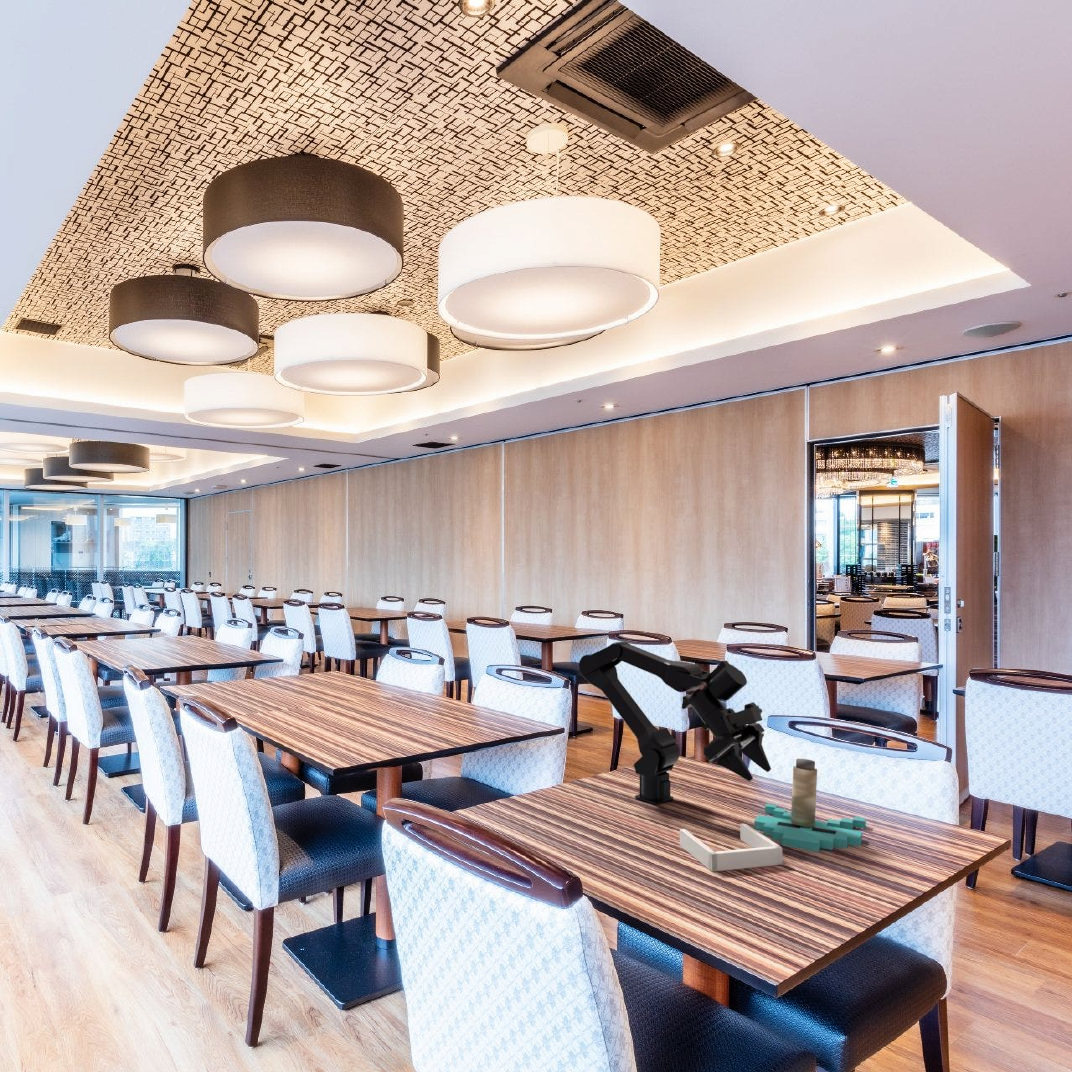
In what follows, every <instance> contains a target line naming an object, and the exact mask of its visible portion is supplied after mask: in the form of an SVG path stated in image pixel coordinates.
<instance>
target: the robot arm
mask: <svg viewBox="0 0 1072 1072" xmlns="http://www.w3.org/2000/svg"><path fill="white" fill-rule="evenodd" d="M622 662H624V663H626V664H628V665H631V666H633V667H634V668H637V669H639V670H642V671H644V672H647V673H650V674H651V675H655V676H656V677H657V678H660V679H661V681H662V682H663V683H664V684H665V685H666V686H668V687H669V688H670V689H673V690H674V691H676V692H678V693H684V692H689V691H693V690H694V691H693V692H692V693H691V694H690V695H688V694H687V695H684V696H682V702H681V709H682V710H686V709H689V708H693V710H694V712H695V713H696V714H697V715H698V717H699V718H700V719H701V721H702V723H704V725H702V728H703V729H704V731H708V730H709V732H710V733H711V734H712V735H713V737H714V739H712V740H711V741H710V742H709V743H707V744H706V745H705V746H704V747H703V756H704V757H705V758H706V760H708V762H711V761H713V763H714V764H717V765H718V766H721V767H723V768H725V769H727V770H729V771H731V772H732V773H734V774H736V775H737V776H739V777H741V778H743V779H744V780H745V781H747V782H750V781H752V780H753V779H754V776H753V775H752V773H751V771H750V770H749V767H748V766H747V765H746V763H745V762H744V760H743V758H742V757H741V754H739V752H741V753H742V754H743V755H744V756H745V757H747V758H748V759H749V760H751V761H752V762H753V763H755V764H756V765H757V766H758V767H759V768H761V769H762V770H764V771H765V772H766V773H768V772H770V771H771V770H772V768H771V765H770V763H769V760H768V757H767V755H766V753H765V750H764V747H763V738H764V736H765V731H766V730H765V729H764V728H763V726H762V725H761V724H760V723H758V722H760V721H763V717H762V715H761V714H762V713H763V709H762V708H760V706H759V705H758V704H756V703H755V702H754V701H753V702H750V703H747V704H744V707H743V710H739V711H735V710H734V709H733V708H731V707H728V708H726V706H725V705H724V703H723V701H725V702H726V701H729V700H730V699H731V698H733V697H734V696H735V695H736V694H737V693H738V692H739V691H741V690H742V688H744V687H745V686H746V685H747V684H748V681H747V677H746V675H745V674H744V673H743V672H742V670H739V668H737V667H736V666H735V665H733V664H730V663H729V661H728V660H722V661H720V662H719V663H718V664H717V666H716V667H715V668H714V669H712V671H711V672H709V671H706V670H703V669H702V668H701V667H700V666H699V665H697V664H695V663H692V662H685V661H679V660H670V659H666V658H664V657H663V656H661V655H660V656H659V655H657V654H656V653H655V654H654V653H652V652H650V651H647V650H644V649H642V648H640V647H637V646H635V645H633V644H631V643H629V642H627V641H617V642H616V641H615V642H613V643H611V644H610V645H608V646H606V647H604V648H603V649H601V650H598V651H596V652H594V653H590V654H589V653H588V654H584V655H583V656H582V657H581V658H580V659H579V662H578V671H579V673H580V675H581V676H582V677H583V678H584V679H585V680H586V681H587V682H588V683H589V685H592V686H593V687H595V688H597V689H598V690H600V691H602V693H603V694H604V696H605V697H606V698H607V700H608V701H609V703H610V704H611V705H612V707H613V708H614V709H615V710H616V712H617V713H618V715H619V716H620V717H621V719H622V720H623V721H624V722H625V724H626V725H627V727H628V728H629V730H630V731H631V732H632V733H633V735H634V737H635V738H636V740H637V745H638V751H639V753H640V755H641V757H640V758H638V759H637V761H635V762H634V763H633V767H634V771H635V774H637V775H639V793H638V794H636V795H634V798H635V799H637V800H640V801H642V802H643V801H644V802H647V803H649V804H653V805H660V804H662V803H665V802H669V801H671V800H674V796H672V795H671V780H670V773H669V771H672V770H673V768H674V766H675V764H676V763H677V762H678V760H679V758H680V751H681V750H680V747H679V746H678V744H677V743H678V742H679V741H678V740H677V739H675V737H673V735H672V733H671V732H670V730H669V729H668V728H667V727H664V728H661V729H660V728H657V727H656V726H654V724H652V721H651V720H650V719H649V718H648V717H647V716H646V714H645V713H644V711H643V710H642V709H641V707H640V706H639V704H638V703H637V702H636V701H635V699H634V698H633V697H632V696H631V694H630V693H629V691H628V690H627V689H626V688H625V686H624V685H623V684H622V682H621V681H620V680H619V676H618V675H619V674H618V670H617V666H618V665H619V664H620V663H622ZM704 685H705V686H704ZM702 686H704V687H703V688H702V689H701V688H700V687H702ZM739 749H740V751H739Z"/></svg>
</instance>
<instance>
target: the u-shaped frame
mask: <svg viewBox="0 0 1072 1072" xmlns="http://www.w3.org/2000/svg"><path fill="white" fill-rule="evenodd" d="M739 824H740V828H739V829H740V830H739V832H740V833H739V834H740V840H741V841H742V842H743V843H745V844H746V845H747V846H749V848H740V849H729V850H720V851H714V850H713V849H712V848H711V847H709V846H708V845H706V844H705V843H704V842H702V841H701V840H700V839H698V838H697V837H696V836H695V835H694V834H692V833H691V832H689V831H688V830H687V829H685V828H680V829H679V846H680V847H681V848H683V849H684V850H685V851H686V852H687V853H688V854H690V855H691V856H692V857H693V858H695V860H697V861H698V862H699V863H701V864H702V865H703V866H705V868H707V869H708V870H709V871H711V873H712V872H721V871H730V870H731V871H733V870H741V869H751V868H761V867H769V866H770V867H771V866H772V867H773V866H779V865H783V846H780V845H779V844H778V843H776V842H774V840H772V839H769V837H767V836H765V834H763V833H761V832H759V831H758V830H757V829H754V827H753V828H752V827H751V826H749V825H748V824H746V823H739Z"/></svg>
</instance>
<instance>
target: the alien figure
mask: <svg viewBox="0 0 1072 1072" xmlns="http://www.w3.org/2000/svg"><path fill="white" fill-rule="evenodd" d="M764 810H765V811H764V813H765V814H766V815H761V814H758V815H757V817H756V818H755V819H754V821H753V822H754V823H753V824H754V825H753V826H754V827H753V829H754V830H757V831H758V830H759V831H762V835H764V836H765V835H767V836H771V837H772V839H771V841H778V842H781V845H782V847H783V846H784V847H789V848H790V847H791V848H795V849H801V850H806V851H812V852H816V853H817V852H820V849H823V850H829V851H833V849H834V848H835V847H837V848H840V849H841V848H842V849H847V847H848V846H854V847H858V846H860V847H861V844H862V841H863V831H861V830H854V827H857V828H856V829H861V828H863V829H862V830H865V829H866V827H865V826H866V824H867V821H866V820H867V818H866V817H860V816H853V819H849V818H845V817H841V818H840V820H835V819H831V818H830V819H827V822H826V821H820V820H815V826H814V827H804V826H799V825H795V824H793V823H791V812H787V809H786V808H780V807H778V804H774V803H769V802H766V804H765V806H764ZM767 815H773V816H767Z"/></svg>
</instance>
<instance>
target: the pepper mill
mask: <svg viewBox="0 0 1072 1072" xmlns="http://www.w3.org/2000/svg"><path fill="white" fill-rule="evenodd" d="M815 767H816V761H815V760H812V759H807V758H796V759H795V765H793V768H792V785H791V786H792V788H791V789H792V791H791V792H792V793H791V811H790V813H791V823H793V824H795V825H799V826H804V827H814V826H815V821H816V808H817V807H816V805H817V786H818V769H817V768H815Z"/></svg>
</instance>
